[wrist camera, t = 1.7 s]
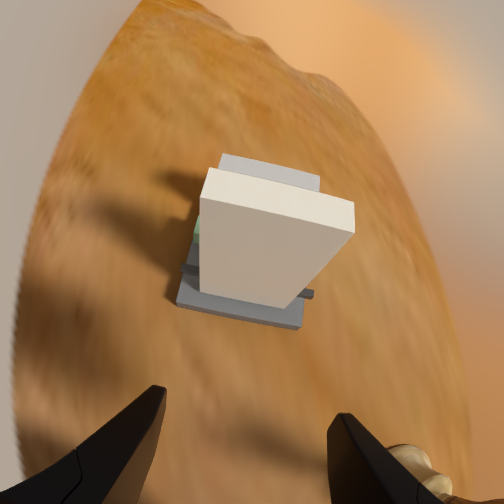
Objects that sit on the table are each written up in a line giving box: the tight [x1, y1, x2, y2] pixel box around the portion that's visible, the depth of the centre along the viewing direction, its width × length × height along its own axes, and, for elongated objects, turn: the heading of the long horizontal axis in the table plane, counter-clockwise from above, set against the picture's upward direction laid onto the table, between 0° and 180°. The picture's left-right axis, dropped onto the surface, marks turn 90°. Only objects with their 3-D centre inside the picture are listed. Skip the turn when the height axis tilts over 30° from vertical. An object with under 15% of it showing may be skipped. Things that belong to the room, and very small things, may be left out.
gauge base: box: [176, 153, 320, 330], centre depth 21 cm, size 10×9×6 cm
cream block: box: [180, 168, 355, 309], centre depth 16 cm, size 2×9×11 cm, turn 81°
